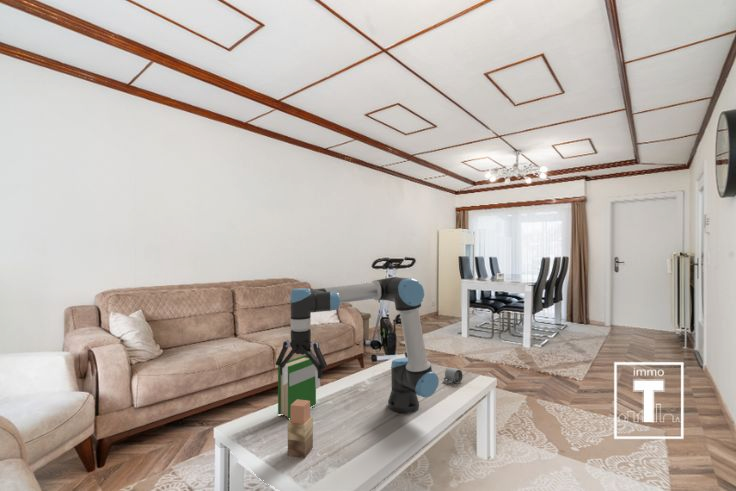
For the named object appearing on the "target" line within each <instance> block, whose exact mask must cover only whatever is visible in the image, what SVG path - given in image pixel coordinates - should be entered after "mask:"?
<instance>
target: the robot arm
mask: <svg viewBox="0 0 736 491" xmlns="http://www.w3.org/2000/svg"><path fill="white" fill-rule="evenodd" d="M424 297H425V289H424V286H423V284H422V283H421V282H420V281H419V280H417V279H414V278H411V277H398V276H392V277H386V278H381V279H373V280H372V281H371V282H368V283H367V282H366V283H358V284H349V285H339V286H331V287H322V288H308V287H307V288H306V287H302V288H301V287H299V288H293V289H292V290H291V291H290V297H289V298H290V300H289V303H290V304H289V306H290V341H289V340H285V341H283V343H282V348H281V351H280V353H279V355H278V358H277V359H276V362H275V365H276V366H278V365H279V366H280V372H281V375H282V383H283V385H285V384H286V383H288V366H285V365H286V363H287V362H288V361H289V360H291V359H292V358H293V356H294V355H301V356H304V355H306V356H308V357H309V359H310V360H311V361H312V363H313V364H314V365H315V367H316V370H315V387H316V389H318V388H319V387H320V386H321V379H322V378H323V369H325V368H326V367H328V364H327V362H326V360H325V359H326V358H325V357H324V355H323V353H322V351H321V349H320V343H319V342H318V341H316V342H312V341H311V340H312V339H311V338H312V333H311V326H312V325H311V316H312V314H311V313H320V312H333V311H337V310H338V309H339V308H340V306H341V304H345V303H355V302H361V301H369V300H374V301H386V302H387V301H388V302H393V303H394V307H395V310H396V311H397V312H398V313H399V316H400V317H399V318H400V322H401V328H402V333H403V340H404V345H405V351H406V357H398V358H395V359H392V361H391V367H390V369H391V371H390V372H391V376H390V377H391V389H390V390H391V391H390V394H389V397H388V401H387V407H388V409H389V410H391V411H393V412H396V413H401V414H402V413H404V414H406V413H407V414H408V413H409V414H410V413H413V412H416V411H418V410H419V408H420V401H419V398H418V397H419V396H420V397H421V398H429V397H431V396H433V395H434V394H435V393H436V391H437V389H438V387H439V380H440V379H439V376H438V374H437V373H436V372H434V371H433V368H432V364H431V362H430V361H429V360H428V358H427V351H426V347H425V340H424V335H423V327H422V322H421V317H420V311H419V310H420V308H421V307H422V302H423V301H424ZM289 347H290V348H291V350H290V351H289V353H288V354H287V355H286V353H287V351H288V349H289ZM311 348H312V349H313V350H312V349H311ZM313 351H314V353H313Z"/></svg>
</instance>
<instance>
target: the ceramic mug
mask: <svg viewBox="0 0 736 491" xmlns="http://www.w3.org/2000/svg"><path fill="white" fill-rule="evenodd" d="M463 375H464V374H463V371H462V370H461V369H458V368H454V367H447V368H446V369H445V371H444V377H443V382H444V384H447V385H448V384H452V383H454V384H459V383H461V382H462V381H463V378H464V377H463ZM446 380H448V381H446Z"/></svg>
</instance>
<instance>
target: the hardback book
mask: <svg viewBox="0 0 736 491" xmlns="http://www.w3.org/2000/svg"><path fill="white" fill-rule="evenodd" d="M285 366H288V383H286V384H285V385H283V383H282V375H281V372H280V366H279V365H277V415H278V414H283V415H285V416H287V417H286V418H287V419H288V418H290V405H291V404H292V403H293V402H295V401H296V400H297V399H299V400H308V401H310V407H311V406H313V405H315V404H316V405H317V388H316V387H315V370H316V369H317V368H316V367H315V365H314V364H313V363H312V361H311V360H310V359H309V357H308V356H306V355H305V354H304V355H301V356H298V357H296V358H291V359H290V360H289V361H288V362H287V363H286V365H285ZM283 415H282V416H283ZM285 416H284V417H285Z"/></svg>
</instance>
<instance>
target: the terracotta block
mask: <svg viewBox="0 0 736 491" xmlns="http://www.w3.org/2000/svg"><path fill="white" fill-rule="evenodd" d="M310 417H311V409H310V401H308V400H299V399H297V400H296V401H295V402H293V403H292V404H291V405H290V420H289V421H290V423H297V424H305V423H306V422H307V421H308V420H309V419H310Z"/></svg>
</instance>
